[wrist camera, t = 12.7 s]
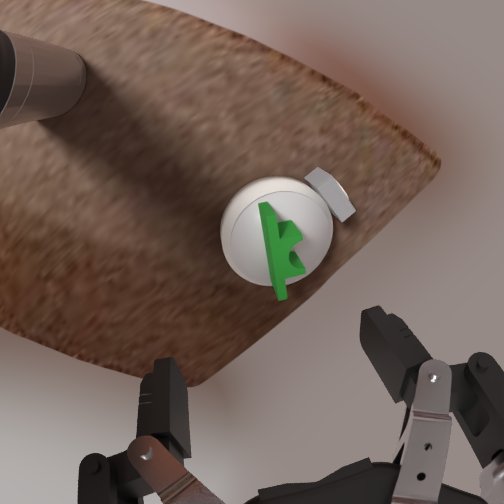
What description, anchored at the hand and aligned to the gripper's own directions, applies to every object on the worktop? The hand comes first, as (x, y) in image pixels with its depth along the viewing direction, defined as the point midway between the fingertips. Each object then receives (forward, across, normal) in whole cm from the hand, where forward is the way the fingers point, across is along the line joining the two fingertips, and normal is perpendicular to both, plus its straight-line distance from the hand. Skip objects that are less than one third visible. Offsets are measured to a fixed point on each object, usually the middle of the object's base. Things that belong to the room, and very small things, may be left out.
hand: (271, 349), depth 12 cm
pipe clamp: (+26, -6, +9) cm, 28 cm away
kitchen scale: (+30, -7, +8) cm, 32 cm away
